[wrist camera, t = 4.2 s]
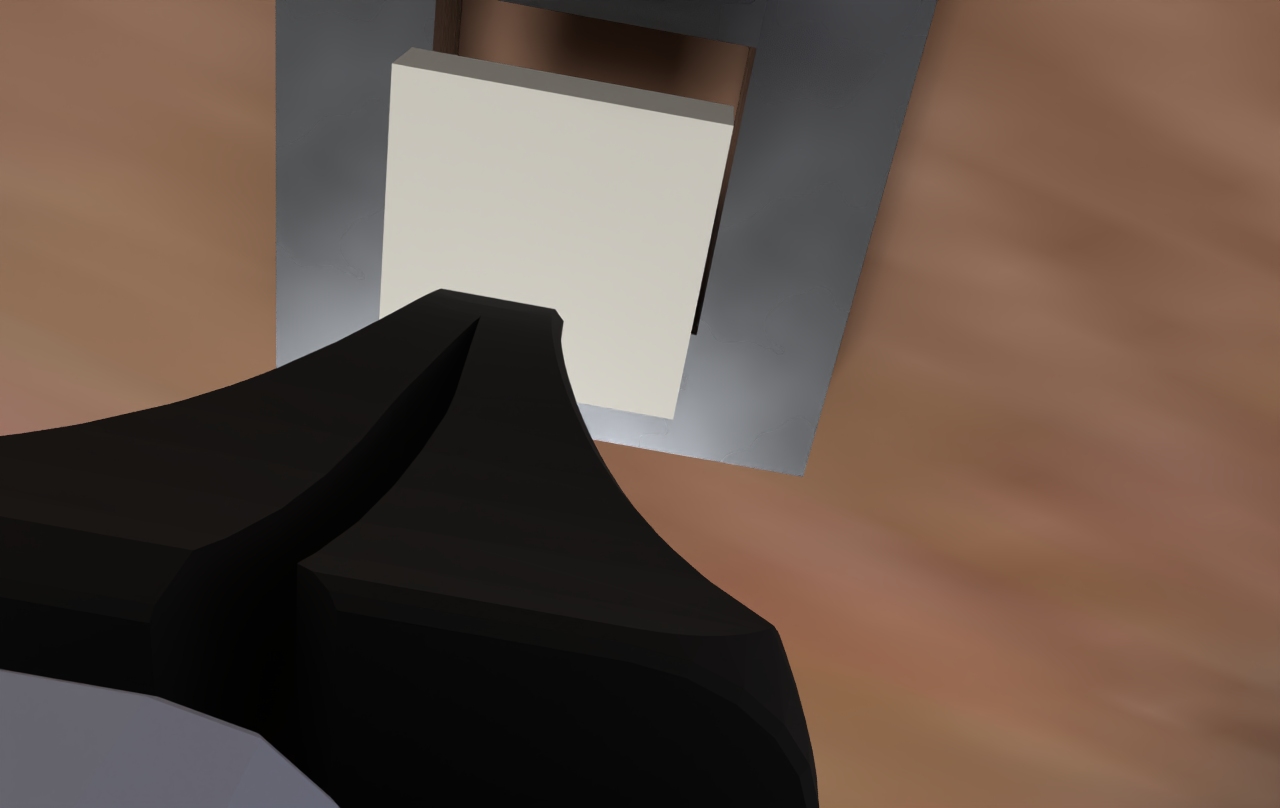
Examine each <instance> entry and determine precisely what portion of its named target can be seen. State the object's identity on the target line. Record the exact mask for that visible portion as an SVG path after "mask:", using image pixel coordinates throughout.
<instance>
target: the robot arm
mask: <svg viewBox="0 0 1280 808" xmlns="http://www.w3.org/2000/svg"><path fill="white" fill-rule="evenodd" d="M563 324H564V321H563V319H562V318H561V317H560V315H559V314H558V312H557V311H556V310H555V309H552V308H547V307H541V306H536V305H530V304H525V303H519V302H514V301H508V300H503V299H497V298H491V297H486V296H480V295H475V294H469V293H464V292H458V291H453V290H447V289H442V288H441V289H438V290H435V291H433V292H431V293H429V294H427V295H425V296H423V297H421V298H419V299H417V300H415V301H413V302H411V303H409V304H408V305H406V306H404V307H402V308H400V309H398V310H396V311H395V312H393V313H391V314H389V315H387V316H385V317H383V318H381V319H380V320H378V321H376V322H374V323H372V324H370V325H368V326H366V327H364V328H362V329H360V330H358V331H356V332H354V333H352V334H351V335H349V336H347V337H345V338H343V339H341V340H339V341H337V342H335V343H332V344H330V345H328V346H326V347H323V348H321V349H319V350H316V351H314V352H312V353H310V354H307V355H305V356H303V357H301V358H298V359H296V360H294V361H292V362H289V363H287V364H285V365H283V366H280V367H278V368H276V369H274V370H271V371H269V372H266V373H264V374H261V375H258V376H256V377H253V378H250V379H248V380H245V381H242V382H239V383H236V384H234V385H231V386H228V387H224V388H221V389H218V390H215V391H212V392H208V393H205V394H202V395H199V396H196V397H192V398H189V399H186V400H182V401H179V402H175V403H171V404H168V405H163V406H159V407H154V408H150V409H145V410H141V411H136V412H132V413H128V414H123V415H119V416H114V417H110V418H105V419H101V420H96V421H92V422H88V423H83V424H77V425H72V426H66V427H60V428H54V429H47V430H41V431H34V432H28V433H22V434H14V435H6V436H0V808H819V801H818V788H817V775H816V769H815V763H814V756H813V751H812V746H811V742H810V738H809V733H808V729H807V725H806V720H805V716H804V713H803V709H802V705H801V701H800V698H799V694H798V690H797V686H796V683H795V680H794V677H793V674H792V671H791V668H790V665H789V662H788V658H787V655H786V652H785V649H784V647H783V644H782V641H781V638H780V635H779V633H778V631H777V630H776V628H775V627H774V626H773V625H772V624H771V623H769V622H768V621H766V620H765V619H763V618H762V617H760V616H759V615H758V614H756V613H755V612H753V611H752V610H750V609H749V608H747V607H746V606H745V605H743V604H742V603H740V602H739V601H737V600H736V599H734V598H733V597H732V596H730V595H729V594H727V593H726V592H724V591H723V590H721V589H720V588H719V587H717V586H716V585H714V584H713V583H711V582H710V581H709V580H708V579H706V578H705V577H704V576H703V575H701V574H700V573H699V572H698V571H697V570H696V569H695V568H694V567H692V566H691V565H690V564H689V563H688V562H687V561H686V560H684V559H683V558H682V557H681V556H680V555H679V554H678V553H676V552H675V551H674V550H673V549H672V548H671V547H670V546H669V545H668V544H667V543H666V542H665V541H664V540H663V539H662V538H661V537H660V536H659V535H658V534H657V533H656V532H655V531H654V529H653V528H652V527H651V526H650V525H649V524H648V523H647V521H646V520H645V519H644V518H643V517H642V516H641V515H640V513H639V512H638V511H637V510H636V509H635V508H634V506H633V505H632V504H631V502H630V501H629V500H628V498H627V497H626V495H625V494H624V493H623V491H622V490H621V488H620V487H619V485H618V484H617V482H616V480H615V479H614V477H613V476H612V474H611V473H610V471H609V469H608V468H607V466H606V464H605V462H604V461H603V459H602V457H601V455H600V453H599V451H598V450H597V448H596V446H595V444H594V442H593V440H592V437H591V435H590V433H589V431H588V429H587V426H586V424H585V422H584V420H583V417H582V415H581V412H580V410H579V407H578V405H577V402H576V399H575V396H574V393H573V390H572V387H571V383H570V380H569V377H568V374H567V370H566V366H565V362H564V356H563V351H562V344H561V337H562V330H563Z"/></svg>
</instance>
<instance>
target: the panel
mask: <svg viewBox="0 0 1280 808" xmlns="http://www.w3.org/2000/svg"><path fill="white" fill-rule="evenodd" d="M499 1H504V2H510V3H515V4H521V5H526V6H532V7H537V8H543V9H548V10H553V11H559V12H564V13H570V14H575V15H581V16H586V17H592V18H597V19H602V20H608V21H613V22H619V23H624V24H630V25H635V26H641V27H646V28H652V29H657V30H662V31H668V32H673V33H679V34H684V35H690V36H695V37H701V38H706V39H711V40H717V41H722V42H728V43H733V44H739V45H744V46H750V48H749V53H748V58H747V63H746V68H745V73H744V77H743V82H742V87H741V92H740V97H739V102H738V107H737V111H736V116H735V121H734V126H733V131H732V136H731V141H730V146H729V151H728V156H727V160H726V165H725V170H724V175H723V180H722V185H721V190H720V194H719V199H718V204H717V209H716V214H715V219H714V224H713V228H712V233H711V238H710V243H709V248H708V253H707V258H706V262H705V267H704V272H703V277H702V282H701V287H700V292H699V296H698V301H697V306H696V311H695V316H694V321H693V325H692V330H691V335H690V340H689V345H688V350H687V355H686V359H685V364H684V369H683V374H682V379H681V384H680V389H679V393H678V398H677V403H676V408H675V413H674V418H673V419H667V418H662V417H656V416H650V415H645V414H639V413H633V412H628V411H622V410H617V409H611V408H605V407H600V406H594V405H589V404H583V403H577V405H578V407H579V410H580V412H581V415H582V417H583V420H584V422H585V424H586V426H587V429H588V431H589V433H590V435H591V437H592V439H594V440H599V441H605V442H610V443H616V444H622V445H627V446H633V447H638V448H644V449H650V450H655V451H661V452H667V453H672V454H678V455H683V456H689V457H695V458H700V459H706V460H712V461H717V462H723V463H728V464H734V465H740V466H745V467H751V468H756V469H762V470H768V471H773V472H779V473H785V474H790V475H796V476H801V477H803V475H804V471H805V467H806V464H807V460H808V457H809V453H810V450H811V446H812V443H813V439H814V436H815V432H816V428H817V425H818V421H819V418H820V414H821V411H822V407H823V404H824V400H825V397H826V393H827V389H828V386H829V382H830V379H831V375H832V372H833V368H834V365H835V361H836V358H837V354H838V351H839V347H840V343H841V340H842V336H843V333H844V329H845V326H846V322H847V319H848V315H849V312H850V308H851V304H852V301H853V297H854V294H855V290H856V287H857V283H858V280H859V276H860V273H861V269H862V266H863V262H864V258H865V255H866V251H867V248H868V244H869V241H870V237H871V234H872V230H873V227H874V223H875V219H876V216H877V212H878V209H879V205H880V202H881V198H882V195H883V191H884V188H885V184H886V180H887V177H888V173H889V170H890V166H891V163H892V159H893V156H894V152H895V149H896V145H897V142H898V138H899V134H900V131H901V127H902V124H903V120H904V117H905V113H906V110H907V106H908V103H909V99H910V95H911V92H912V88H913V85H914V81H915V78H916V74H917V71H918V67H919V64H920V60H921V56H922V53H923V49H924V46H925V42H926V39H927V35H928V32H929V28H930V25H931V21H932V18H933V14H934V10H935V7H936V3H937V0H499ZM461 6H462V0H276V368H278V367H280V366H283V365H285V364H287V363H289V362H292V361H294V360H296V359H298V358H301V357H303V356H305V355H307V354H310V353H312V352H314V351H316V350H319V349H321V348H323V347H326V346H328V345H330V344H332V343H335V342H337V341H339V340H341V339H343V338H345V337H347V336H349V335H351V334H352V333H354V332H356V331H358V330H360V329H362V328H364V327H366V326H368V325H370V324H372V323H374V322H376V321H378V320H379V314H380V294H381V274H382V253H383V233H384V213H385V193H386V173H387V153H388V132H389V112H390V92H391V72H392V63H393V62H394V61H396V60H397V59H398V58H399V57H400V56H402V55H403V54H404V53H405V52H407V51H408V50H409V49H410V48H412V47H414V48H419V49H424V50H430V51H435V52H441V53H446V54H452V55H457V56H458V44H459V31H460V19H461Z"/></svg>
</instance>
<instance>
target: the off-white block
mask: <svg viewBox="0 0 1280 808" xmlns="http://www.w3.org/2000/svg"><path fill="white" fill-rule="evenodd" d="M733 126H734V106H731V105H725V104H720V103H714V102H709V101H703V100H698V99H693V98H687V97H682V96H676V95H671V94H665V93H660V92H654V91H649V90H643V89H638V88H632V87H627V86H621V85H616V84H610V83H605V82H600V81H594V80H589V79H583V78H578V77H572V76H567V75H561V74H556V73H550V72H545V71H539V70H534V69H528V68H523V67H517V66H512V65H507V64H501V63H496V62H490V61H485V60H479V59H474V58H468V57H463V56H457V55H452V54H446V53H441V52H435V51H430V50H424V49H419V48H414V47H412V48H410V49H409V50H408V51H407V52H405V53H404V54H403V55H402V56H400V57H399V58H398V59H397V60H396V61H394V62H393V63H392V72H391V92H390V112H389V132H388V153H387V173H386V193H385V213H384V233H383V253H382V274H381V294H380V314H379V320H380V319H381V318H383V317H385V316H387V315H389V314H391V313H393V312H395V311H396V310H398V309H400V308H402V307H404V306H406V305H408V304H409V303H411V302H413V301H415V300H417V299H419V298H421V297H423V296H425V295H427V294H429V293H431V292H433V291H435V290H438V289H441V288H442V289H447V290H453V291H458V292H464V293H469V294H475V295H480V296H486V297H491V298H497V299H503V300H508V301H514V302H519V303H525V304H530V305H536V306H541V307H547V308H552V309H555V310H556V311H557V312H558V314H559V315H560V317H561V318H562V319H563V321H564V324H563V330H562V337H561V344H562V351H563V356H564V362H565V366H566V370H567V374H568V377H569V380H570V383H571V387H572V390H573V393H574V396H575V399H576V402H577V403H583V404H589V405H594V406H600V407H605V408H611V409H617V410H622V411H628V412H633V413H639V414H645V415H650V416H656V417H662V418H667V419H673V418H674V413H675V408H676V403H677V398H678V393H679V389H680V384H681V379H682V374H683V369H684V364H685V359H686V355H687V350H688V345H689V340H690V335H691V330H692V325H693V321H694V316H695V311H696V306H697V301H698V296H699V292H700V287H701V282H702V277H703V272H704V267H705V262H706V258H707V253H708V248H709V243H710V238H711V233H712V228H713V224H714V219H715V214H716V209H717V204H718V199H719V194H720V190H721V185H722V180H723V175H724V170H725V165H726V160H727V156H728V151H729V146H730V141H731V136H732V131H733Z"/></svg>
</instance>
